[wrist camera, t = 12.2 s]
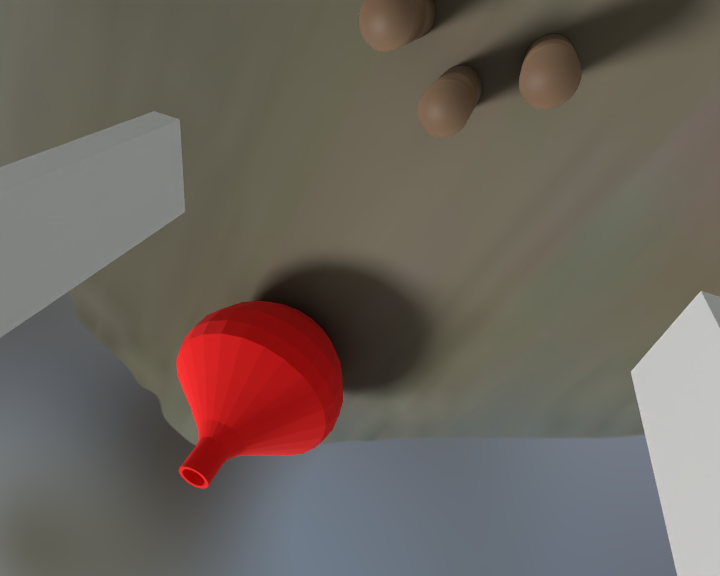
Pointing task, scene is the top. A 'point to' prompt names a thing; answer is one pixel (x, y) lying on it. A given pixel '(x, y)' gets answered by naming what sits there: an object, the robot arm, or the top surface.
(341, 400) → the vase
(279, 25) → the top surface
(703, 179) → the top surface
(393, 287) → the top surface
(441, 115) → the posts
